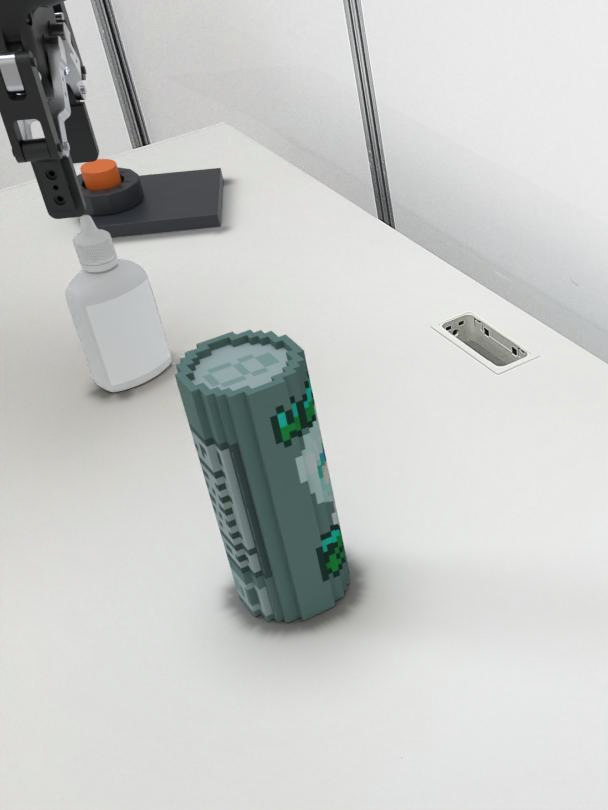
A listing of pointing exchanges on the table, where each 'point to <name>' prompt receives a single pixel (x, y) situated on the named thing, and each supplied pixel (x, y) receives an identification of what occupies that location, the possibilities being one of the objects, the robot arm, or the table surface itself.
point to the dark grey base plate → (157, 202)
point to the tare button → (100, 174)
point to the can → (266, 471)
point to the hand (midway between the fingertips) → (76, 187)
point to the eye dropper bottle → (115, 314)
